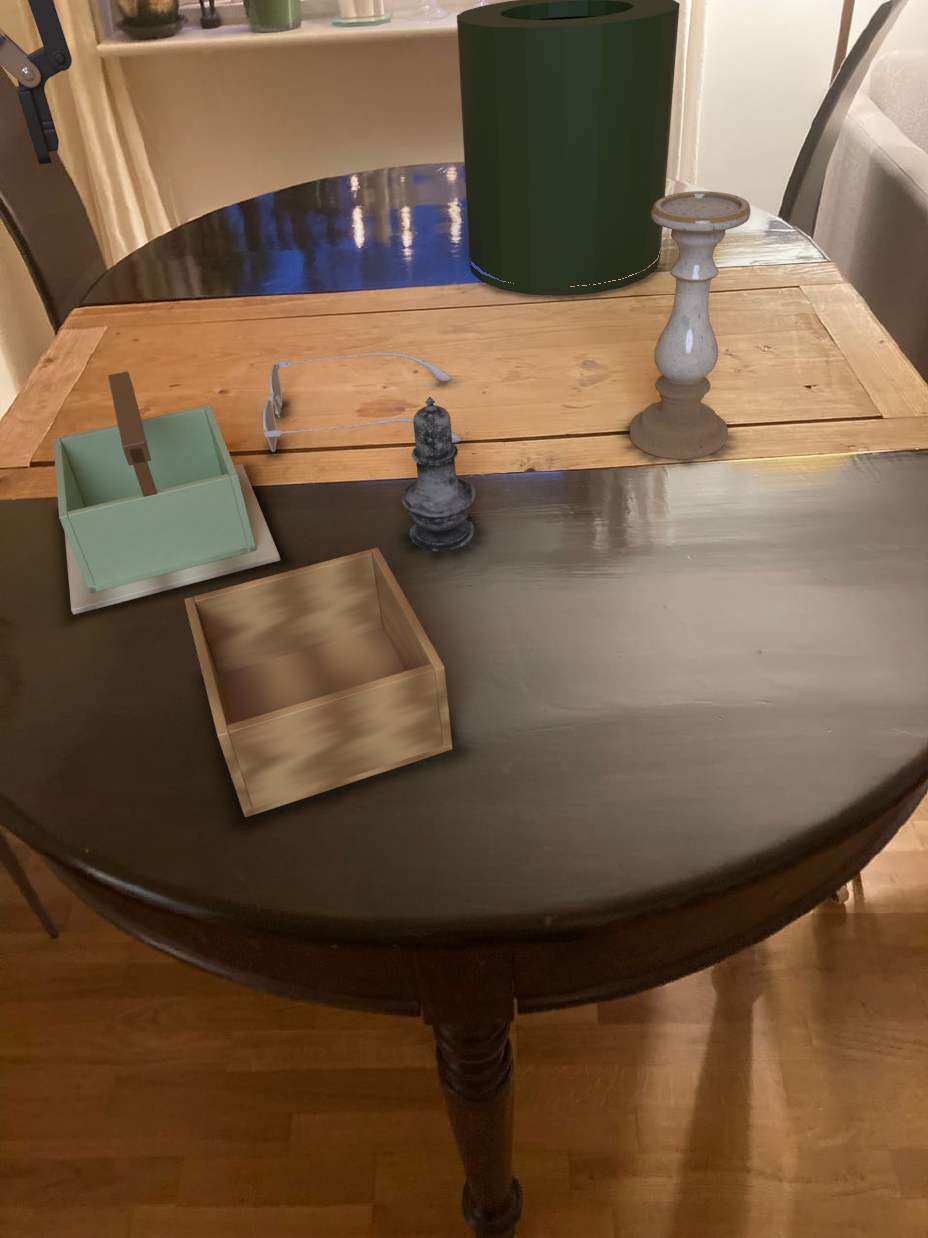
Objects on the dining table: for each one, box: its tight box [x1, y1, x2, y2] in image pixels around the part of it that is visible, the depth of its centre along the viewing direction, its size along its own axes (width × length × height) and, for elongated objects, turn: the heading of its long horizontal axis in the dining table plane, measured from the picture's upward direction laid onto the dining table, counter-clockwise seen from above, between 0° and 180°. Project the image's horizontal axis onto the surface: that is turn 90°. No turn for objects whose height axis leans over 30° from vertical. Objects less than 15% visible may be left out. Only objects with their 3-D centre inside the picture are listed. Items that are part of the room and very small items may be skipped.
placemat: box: [64, 463, 281, 615], centre depth 77 cm, size 16×16×1 cm
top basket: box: [52, 371, 257, 593], centre depth 73 cm, size 13×13×11 cm
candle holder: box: [629, 190, 752, 460], centre depth 78 cm, size 9×9×20 cm
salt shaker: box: [401, 396, 477, 552], centre depth 71 cm, size 6×6×12 cm
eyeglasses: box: [262, 352, 463, 453], centre depth 90 cm, size 15×18×4 cm
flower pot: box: [456, 0, 681, 296], centre depth 114 cm, size 25×25×28 cm
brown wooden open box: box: [184, 547, 454, 818], centre depth 58 cm, size 13×13×7 cm
